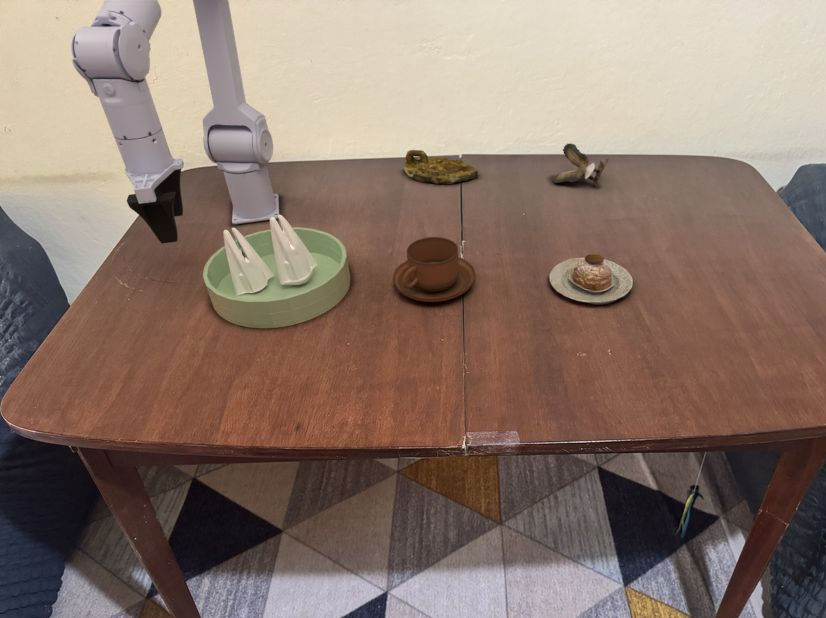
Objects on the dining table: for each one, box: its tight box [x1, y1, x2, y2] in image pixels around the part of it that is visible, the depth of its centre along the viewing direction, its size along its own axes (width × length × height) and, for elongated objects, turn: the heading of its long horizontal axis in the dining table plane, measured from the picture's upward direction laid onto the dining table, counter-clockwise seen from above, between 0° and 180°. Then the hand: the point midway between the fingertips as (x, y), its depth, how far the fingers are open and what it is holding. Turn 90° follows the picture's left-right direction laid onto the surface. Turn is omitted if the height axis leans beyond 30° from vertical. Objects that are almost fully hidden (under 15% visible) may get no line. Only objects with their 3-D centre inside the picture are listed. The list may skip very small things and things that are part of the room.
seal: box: [403, 149, 479, 185], centre depth 124 cm, size 9×5×15 cm
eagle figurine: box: [551, 143, 610, 188], centre depth 118 cm, size 8×7×9 cm
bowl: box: [202, 226, 352, 329], centre depth 94 cm, size 20×20×4 cm
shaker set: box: [222, 214, 317, 296], centre depth 92 cm, size 12×4×11 cm, turn 99°
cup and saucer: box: [392, 236, 476, 303], centre depth 93 cm, size 12×12×6 cm
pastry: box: [548, 253, 634, 306], centre depth 92 cm, size 12×12×5 cm
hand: (172, 228), depth 89 cm, fingers open, 7 cm apart
